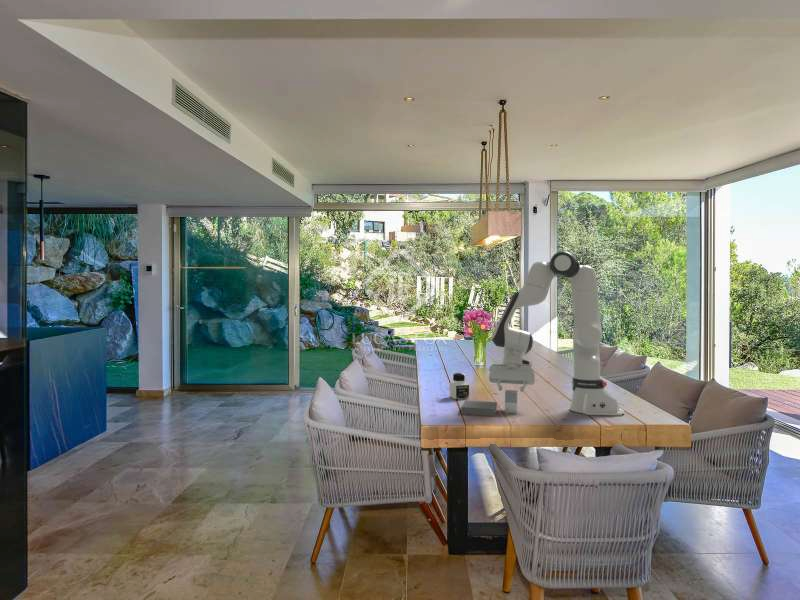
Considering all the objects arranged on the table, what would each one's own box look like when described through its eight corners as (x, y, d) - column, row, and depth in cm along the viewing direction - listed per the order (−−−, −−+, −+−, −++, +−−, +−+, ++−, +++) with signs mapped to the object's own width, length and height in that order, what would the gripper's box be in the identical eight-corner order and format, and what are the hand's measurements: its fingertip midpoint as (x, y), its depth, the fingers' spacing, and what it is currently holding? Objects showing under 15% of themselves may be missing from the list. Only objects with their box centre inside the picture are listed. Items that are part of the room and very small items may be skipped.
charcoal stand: (496, 408, 239) (496, 402, 239) (494, 416, 226) (494, 409, 226) (465, 406, 243) (465, 400, 243) (461, 414, 229) (461, 407, 229)
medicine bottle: (456, 399, 258) (456, 375, 257) (449, 397, 264) (449, 372, 264) (469, 398, 260) (469, 374, 260) (462, 395, 267) (462, 371, 267)
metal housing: (517, 410, 235) (517, 390, 235) (516, 413, 231) (516, 392, 230) (505, 410, 237) (505, 389, 236) (505, 412, 232) (505, 392, 232)
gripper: (489, 360, 246) (487, 385, 237) (535, 362, 241) (534, 387, 232) (490, 368, 251) (487, 393, 242) (535, 370, 246) (534, 395, 236)
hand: (511, 390), depth 237 cm, fingers open, 8 cm apart
